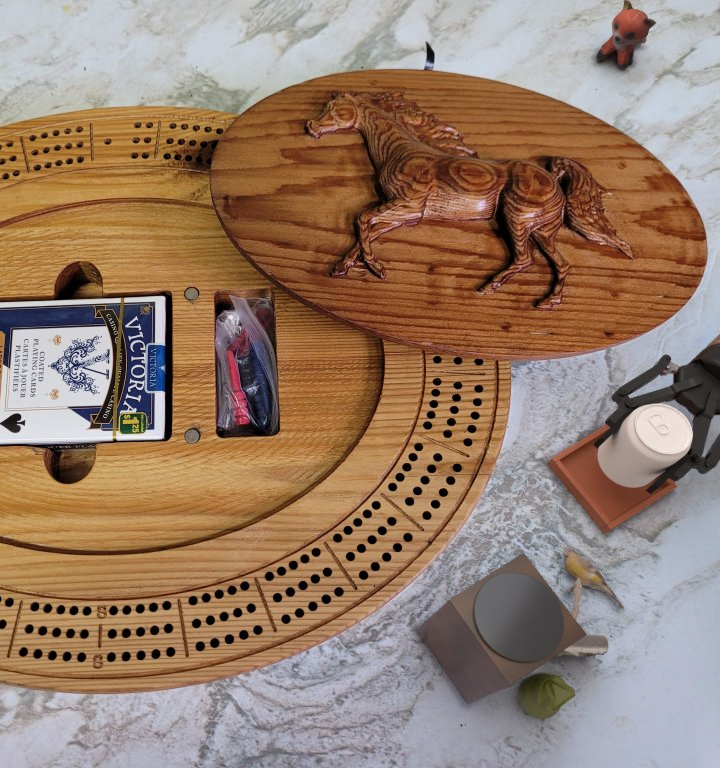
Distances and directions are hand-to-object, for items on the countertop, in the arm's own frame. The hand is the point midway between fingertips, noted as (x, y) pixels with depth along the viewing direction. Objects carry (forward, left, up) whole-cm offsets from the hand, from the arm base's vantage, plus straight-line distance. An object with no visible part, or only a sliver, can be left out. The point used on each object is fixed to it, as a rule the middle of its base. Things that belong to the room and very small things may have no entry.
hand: (625, 465), depth 109 cm
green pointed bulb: (-18, +25, -14) cm, 33 cm away
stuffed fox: (+65, -66, -14) cm, 93 cm away
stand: (-8, +27, -13) cm, 31 cm away
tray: (+1, -5, -13) cm, 14 cm away
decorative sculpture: (-12, +12, -14) cm, 22 cm away
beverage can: (+1, -5, -7) cm, 9 cm away
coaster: (-8, +27, +7) cm, 29 cm away
